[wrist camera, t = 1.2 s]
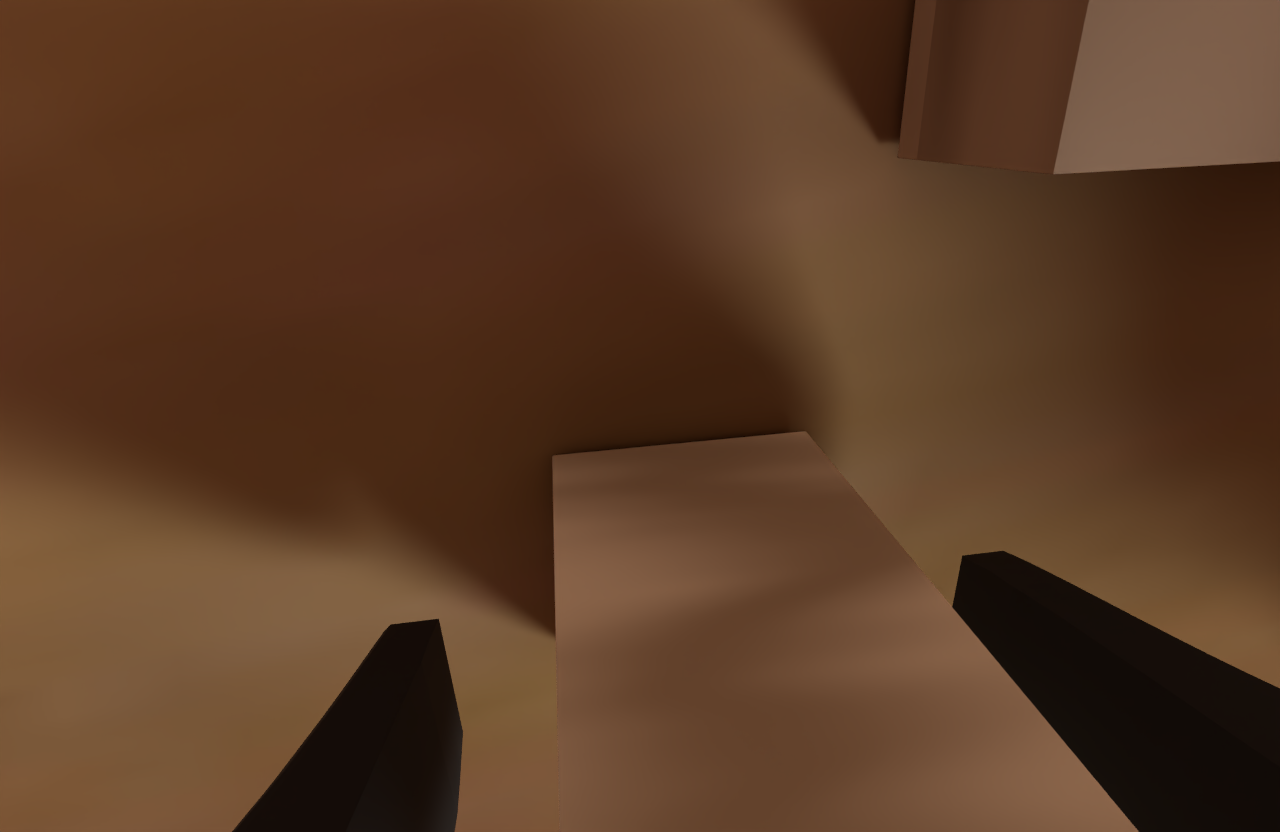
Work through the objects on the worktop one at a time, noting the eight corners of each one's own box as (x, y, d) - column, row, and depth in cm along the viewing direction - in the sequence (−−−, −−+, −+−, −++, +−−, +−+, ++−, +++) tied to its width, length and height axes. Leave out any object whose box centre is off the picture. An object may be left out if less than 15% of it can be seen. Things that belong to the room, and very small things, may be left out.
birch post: (805, 431, 10) (1203, 908, 4) (792, 626, 12) (1060, 1182, 6) (552, 455, 10) (563, 1026, 4) (574, 654, 12) (606, 1284, 5)
